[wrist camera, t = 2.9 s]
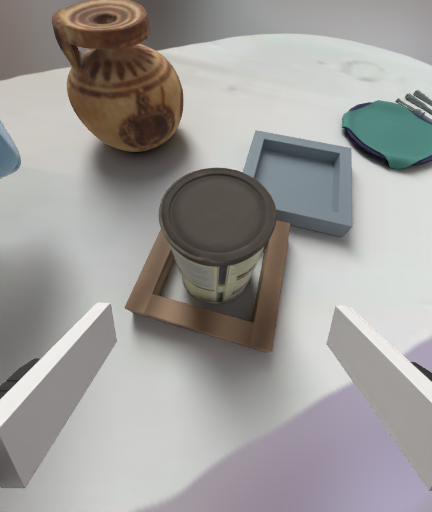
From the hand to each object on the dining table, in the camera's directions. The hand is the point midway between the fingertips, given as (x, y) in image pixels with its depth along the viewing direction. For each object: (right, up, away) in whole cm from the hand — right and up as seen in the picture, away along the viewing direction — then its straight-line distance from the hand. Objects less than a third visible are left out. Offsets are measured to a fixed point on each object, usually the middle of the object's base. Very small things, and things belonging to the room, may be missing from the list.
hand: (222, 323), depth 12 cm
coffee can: (0, +2, +19) cm, 19 cm away
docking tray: (+14, +17, +26) cm, 34 cm away
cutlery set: (+41, +32, +34) cm, 62 cm away
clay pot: (-16, +29, +32) cm, 46 cm away
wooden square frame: (0, +2, +18) cm, 19 cm away
